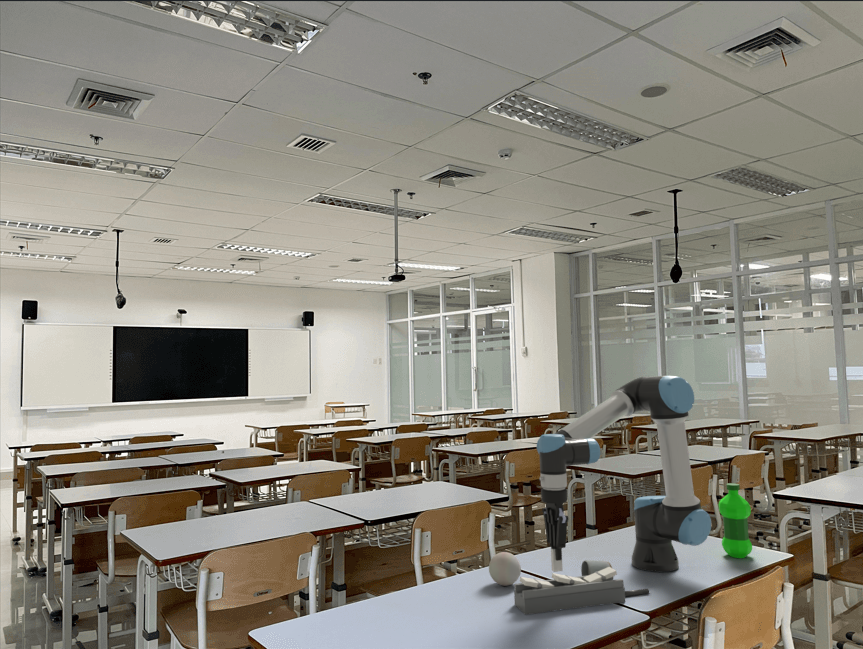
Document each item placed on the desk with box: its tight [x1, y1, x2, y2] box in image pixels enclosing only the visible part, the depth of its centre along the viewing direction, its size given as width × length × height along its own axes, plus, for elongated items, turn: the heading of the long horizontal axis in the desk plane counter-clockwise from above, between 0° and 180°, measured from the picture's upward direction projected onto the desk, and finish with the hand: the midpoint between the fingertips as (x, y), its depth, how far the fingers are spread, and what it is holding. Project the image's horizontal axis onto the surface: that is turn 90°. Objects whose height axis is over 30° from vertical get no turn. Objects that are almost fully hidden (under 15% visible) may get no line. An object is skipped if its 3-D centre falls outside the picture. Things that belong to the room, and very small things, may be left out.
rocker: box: [583, 567, 618, 583], centre depth 185 cm, size 9×4×1 cm, turn 104°
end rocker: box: [519, 576, 554, 588], centre depth 181 cm, size 9×4×1 cm, turn 104°
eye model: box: [488, 551, 522, 587], centre depth 200 cm, size 10×10×10 cm
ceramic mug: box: [580, 559, 613, 576], centre depth 199 cm, size 11×8×8 cm
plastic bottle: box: [717, 482, 753, 559], centre depth 224 cm, size 10×10×25 cm
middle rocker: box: [551, 572, 586, 585], centre depth 183 cm, size 9×4×1 cm, turn 104°
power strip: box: [513, 575, 650, 616], centre depth 184 cm, size 41×8×6 cm, turn 104°
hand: (557, 570), depth 182 cm, fingers closed
